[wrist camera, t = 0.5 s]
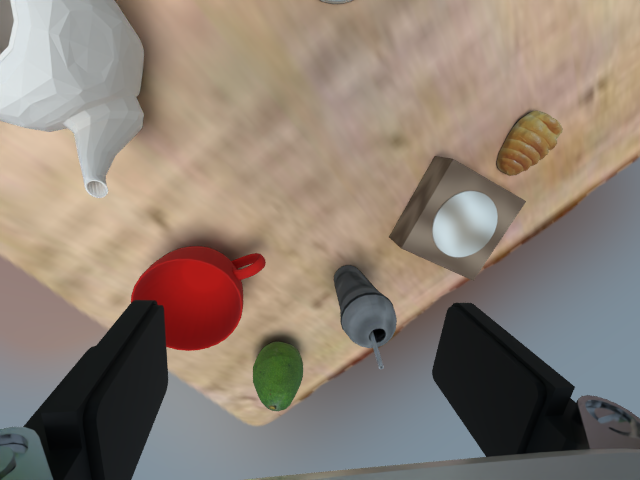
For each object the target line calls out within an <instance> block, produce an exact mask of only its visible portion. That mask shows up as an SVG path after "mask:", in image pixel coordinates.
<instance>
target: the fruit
mask: <svg viewBox="0 0 640 480" xmlns="http://www.w3.org/2000/svg"><path fill="white" fill-rule="evenodd" d="M302 377H303V362H302V358H301V356H300V354H299V352H298V350H297V349H296V348H295V347H294V346H292V345H290V344H286V343H283V342H280V341H279V342H272V343H270V344H268V345H267V346H265V347H264V348H263V349H262V350H261V351H260V353H259V354H258V356H257V359H256V361H255V364H254V366H253V383H254V386H255V389H256V391H257V394H258V396H259V398H260V400H261V402H262V403H263V404H264V405H265V406H266V407H267V408H268V409H270V410H272V411H280V410H284V409H286V408H287V407H288V406H289V405H290V404H291V402H292V400H293V399H294V397H295V395H296V393H297V391H298V389H299V386H300V384H301V381H302Z"/></svg>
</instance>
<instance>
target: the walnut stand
mask: <svg viewBox="0 0 640 480" xmlns="http://www.w3.org/2000/svg"><path fill="white" fill-rule="evenodd" d="M525 202H526V201H525V200H523V199H521V198H519V197H518V196H516V195H514V194H513V193H511V192H509V191H507V190H506V189H504V188H502V187H500V186H499V185H497V184H495V183H494V182H492V181H490V180H488V179H487V178H485V177H483V176H481V175H480V174H478V173H476V172H475V171H473V170H471V169H469V168H468V167H466V166H464V165H462V164H461V163H459V162H457V161H456V160H454V159H449V158H443V157H437V156H435V157H434V159H433V160H432V162H431V164H430V166H429V168H428V169H427V171H426V173H425V175H424V176H423V178H422V180H421V182H420V183H419V185H418V187H417V189H416V191H415V192H414V194H413V196H412V198H411V199H410V201H409V203H408V205H407V206H406V208H405V210H404V212H403V214H402V215H401V217H400V219H399V221H398V222H397V224H396V226H395V228H394V229H393V231H392V233H391V235H390V236H389V238H390V239H392V240H393V241H394V242H395V243H396V244H397V245H398V246H399V247H400V248H402V249H404V250H406V251H408V252H411V253H413V254H415V255H417V256H419V257H422V258H424V259H426V260H428V261H431V262H433V263H435V264H437V265H440V266H442V267H444V268H446V269H448V270H451V271H453V272H455V273H457V274H460V275H462V276H464V277H466V278H469V279H471V280H474V279H475V277H476V276H477V274H478V273H479V271H480V270H481V268H482V267H483V265H484V264H485V262H486V261H487V259H488V258H489V256H490V255H491V253H492V252H493V250H494V249H495V247H496V246H497V244H498V243H499V241H500V240H501V238H502V237H503V235H504V234H505V232H506V231H507V229H508V228H509V226H510V225H511V223H512V222H513V220H514V219H515V217H516V216H517V214H518V213H519V211H520V210H521V208H522V207H523V205H524V204H525Z"/></svg>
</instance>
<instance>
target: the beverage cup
mask: <svg viewBox="0 0 640 480" xmlns="http://www.w3.org/2000/svg"><path fill="white" fill-rule="evenodd" d="M334 283H335V289H336V293H337V297H338V301H339V306H340V310H341V312H340V314H341V325H342V329H343V330H344V331H345V333H346V334H347V335H348V336H349V338H350V339H351V340H352V341H353V342H355V343H356V344H358V345H360V346H362V347H367V348H373V349H374V352H375V356H376V359H377V363H378V366H379V369H383V363H382V360H381V357H380V353H379V350H378V347H379V346H382V345H384V344H385V343H387V342H388V341H389V340H390V339H391V337H392V336H393V334H394V332H395V329H396V322H397V320H396V315H395V311H394V308H393V304H392V303H391V301H390V300H389V299H388V298H387V297H385V296H384V295H383V294H381V293H380V292H379V291H378V290H377V289H376V288H375V287H374V286H373V285H372V284H371V283H370V282H369V280H368V279H367V278H366V277H365V276H364V275H363V274H362V273H361V272H360V271H359V270H358V269H357V268H356V267H354V266H351V265H346V266H343V267H341V268H339V269H338V270H337V271H336V273H335V275H334Z"/></svg>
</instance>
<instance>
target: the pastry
mask: <svg viewBox="0 0 640 480" xmlns="http://www.w3.org/2000/svg"><path fill="white" fill-rule="evenodd" d="M562 130H563V129H562V127H561V125H560V123H559V122H558V121H557V120H556V119H554V118H552V117H551V116H550V115H548V114H546V113H543V112H540V111H532V112H530V113H529V114H527V115H526V116H524V117H523V118H521V119H520V120H519V121H518V122H517V123H516V125H515V126H513V128H512V130H511V131H510V133H509V135H508V136H507V138H506V140H505V142H504V144H503V146H502V148H501V150H500V152H499V154H498V159H497V167H498V169H499V170H500V171H501V172H503V173H505V174H507V175H509V176H511V175H517V174H519V173H520V172H522V171H526V170H528V168H529V167H530V166H532V165H535V164H537V163H538V161H539V160H541V159H543V158H544V157H545V156H546V155H547V154H548V150H551V149H553V148H554V147H555V146H556V144H557V140H556V139H557V138H558V137H559V135H560V134H561V133H562Z"/></svg>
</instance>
